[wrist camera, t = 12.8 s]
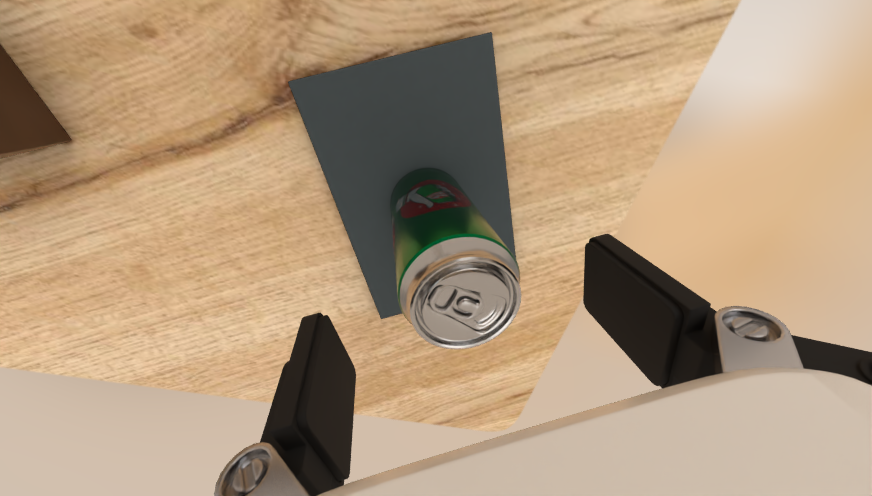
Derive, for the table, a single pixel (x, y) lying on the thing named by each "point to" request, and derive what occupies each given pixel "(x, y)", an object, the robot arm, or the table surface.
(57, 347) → the table surface
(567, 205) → the table surface
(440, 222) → the soda can
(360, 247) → the mat
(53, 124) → the frame
